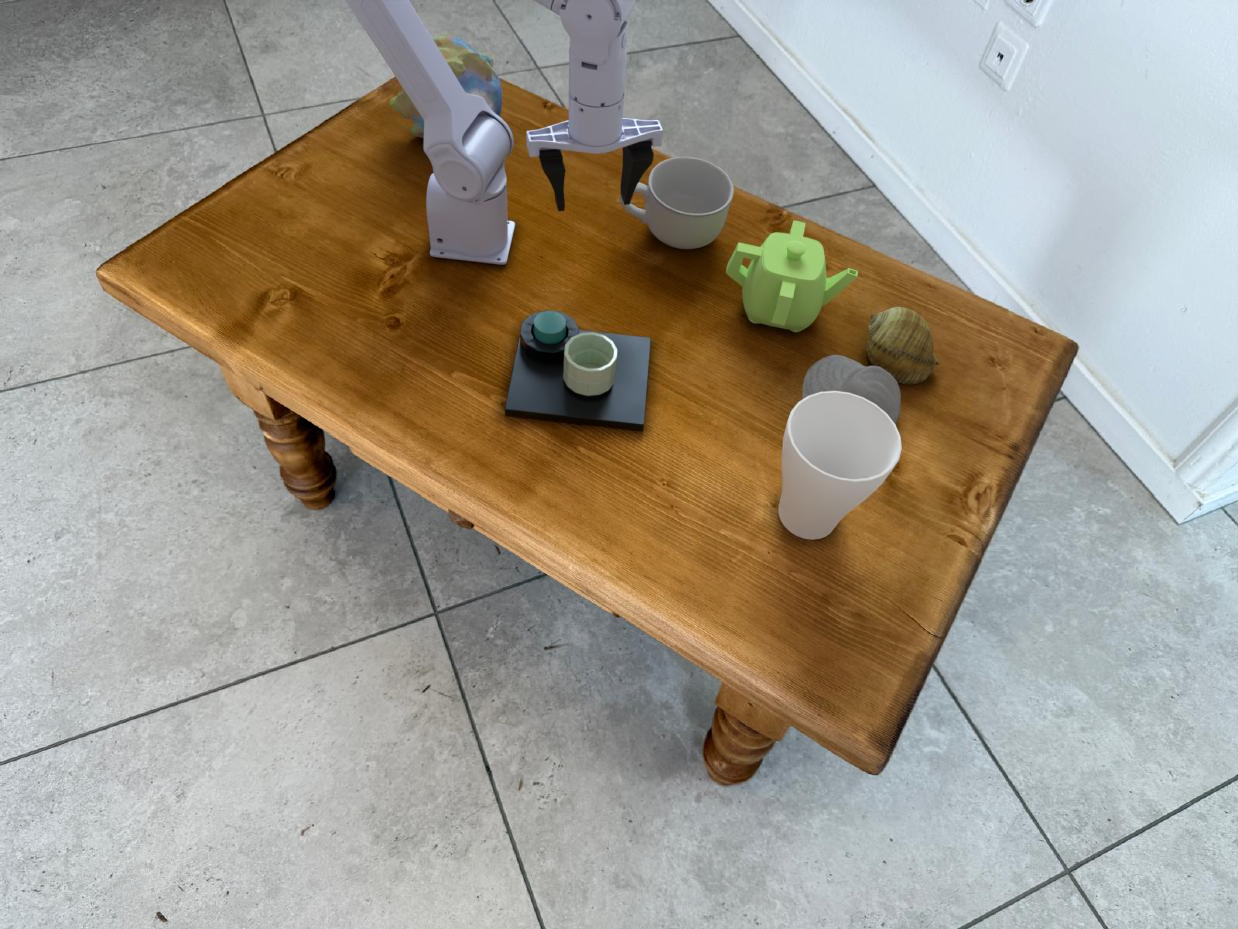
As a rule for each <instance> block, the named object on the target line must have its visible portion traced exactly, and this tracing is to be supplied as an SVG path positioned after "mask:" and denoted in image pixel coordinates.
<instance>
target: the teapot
mask: <svg viewBox="0 0 1238 929" xmlns="http://www.w3.org/2000/svg"><path fill="white" fill-rule="evenodd" d="M805 228H806V222H803V221H799V220H792V224H791V227H790V230H789V233H786V232H776V231H775V232H772V233H770V234H769V235H768V236H767V237H766V239H765V240H764V241H763V243H762V244H761V245H760V246H757V245H752V244H747V243H744V242H737V245H736V246H735V248H734V250H733V252H732V255H731V257H730V258H729V260H728V262H727V264H726V269H725V274H726V275H727V276H728V277H730V278H731V279H732V280H733V281H735V282H736V283H737V284H738V285H740V286H741V299H742V304H743V308H744V312H745V314H746V316H747V318H748V321H749V322H751V323H753V324H762V325H766V326H769V327H774V328H779V329H784V330H789V331H791V332H793V333H799V332H801V331H803V330H805V329H807V328H808V327H810V326H811V325H812V324H813V323H814V322H815V320H816V319H817V317H818V315H819V314H820V312H821V310H822V307H823V306H826V305H828V303H830V302H831V301H832V300H833V299H834V298H835V297H837V295H839V294H840V293H841V292H842V291H844V290H845V288H847V287H848V286H849V285H850V284H852V283H853V281H855V280H856V279H858V274H859V270H857V269H853V268H850V267H847V268H846V269H845V270H842V271H841V272H839V273H836V274H835V275H832V276H830V277H827V265H826V255H825V250H824V246H823V244H822V243H821V242H820V241H818V240H816V239H813V238H810V237H805V236H804V234H805ZM745 258H746V259H748V260H750V263H749V265H748V267H746V266H745V265H744V264H743V261H744V259H745Z"/></svg>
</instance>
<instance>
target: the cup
mask: <svg viewBox="0 0 1238 929" xmlns="http://www.w3.org/2000/svg"><path fill="white" fill-rule="evenodd" d="M782 437H783V438H782V446H781V447H782V449H781V494H780V499H779V503H778V517H779V520H780V522H781V523H782V525H783V527H784V528H785V529H786V530H787V531H789V533H790V534H793V535H794V536H796V537H798V538H801V539H804V540H812V541H813V540H820V539H823V538H825V537H827V536H829V535H830V534H831V533H832V532H833V531H834V530H835V528H836V527H837V526H838V524H839V523H840V522H841V520H843V519H844V518H845V517H846V516H847V515H849V513H850V512H852V511H853V510H854V509H855V508H856V507H858V506H859V505H860V504H862V503H864V502H865V501H866V500H867V499H868V498H869V497H870V496H871V495H873V494H874V493H875V491H876V490H878V489H879V488H880V487H881V486H882V485H883V483H884V482H885V481H886V479H887V478H888V476H890V474H891V472H892V471H893V470H894V468H895V467H896V465H898V462H899V461H900V457H901V454H902V449H903V447H902V437H901V434H900V432H899V430H898V427H897V424H896V425H895V423H894V422H893V421H892V420H891V418H890V417H889V416H888V414H887V413H886V412H884V411H883V410H882V409H881V408H880V407H878V406H877V405H876V404H874V403H872V402H871V401H869V400H867V399H865V398H863V397H861V396H857V395H854V394H851V393H847V392H840V391H826V392H819V393H816V394H813V395H809V396H807V397H806V398H804V399H801V400H799V401H798V402H797V403H796V404H795V405H794V407H793V408H792V409H791V410H790V412H789V416H788V419H787V422H786V425H785V429H784V433H783V436H782Z"/></svg>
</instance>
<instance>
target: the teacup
mask: <svg viewBox="0 0 1238 929" xmlns="http://www.w3.org/2000/svg"><path fill="white" fill-rule="evenodd" d="M647 183H648V184H647V185H646V184H645V183H642V182H640V181H639V182H638V184H637V186H636V188H635V191H634V193H633V194H641V196H642V197H643V200H644V203H645V207H644V208H645V209H643V208H640V207H637V206H635V205H634V204H632V203H631V202H630V204H629V205H624V202H623V200H622V197H621V193H620V195H619V200H620V205H621V206H622V208H623V210H624V211H625V212H627V213H628V214H630V215H631V216H633V217H634V218H636V219H639V221H640V223H642V224H644V225H647V227H648V229H649V230H650V232H651V234H653V236H654V237H655V238H656V239H658V240H659V241H660V242H662V243H663V244H665V245H667V246H669V247H671V248H674V249H678V250H692V249H693V250H694V249H699V248H700V249H701V248H702V247H706V246H708V245H709V244H711V243H713V241H715V240H716V239H717V238H718V237H719V236H720V234H721V232H722V231H723V228H724V227H725V224H726V220H727V217H728V213H729V210H730V206H731V203H732V201H733V198H734V193H735V188H734V184H733V182H732V179H731V178H730V176H729V175H728V174H727V172H726V171H724V170H723V169H722V167H719V166H718V165H716V164H714V163H712V162H711V161H708V160H705V159H703V158H697V157H694V156H674V157H671V158H667V159H664V160H662V161H660V162H659V163H657V164H656V165H655V166H654V167H653V168H652V169H651V171H650V173H649V175H648V182H647Z"/></svg>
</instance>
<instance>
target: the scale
mask: <svg viewBox="0 0 1238 929" xmlns="http://www.w3.org/2000/svg"><path fill="white" fill-rule="evenodd" d="M544 311H551V310H550V309H545V310H540V311H536V312H533V313H531V314H530V315H529V316H527V318H525V319H524V320H523V321H522V322H521V326H520V331H519V336H518V341H517V346H516V351H515V355H514V361H513V365H512V366H513V367H512V372H511V376H510V381H509V386H508V390H507V396H506V401H505V406H504V416H505V417H509V418H517V419H519V418H520V419H529V420H537V421H546V422H553V423H554V422H556V423H564V424H574V425H580V426H581V425H582V426H589V427H600V428H609V429H617V430H618V429H619V430H625V431H627V430H628V431H636V432H644V428H645V420H646V407H647V393H648V384H649V383H648V382H649V381H648V380H649V369H650V358H651V357H650V356H651V343H652V338H651V337H647V336H638V335H628V334H621V333H620V334H619V333H611V332H601V331H594V330H585V329H580V328H579V326H578V323H577V322H576V321H575V319H574V318H573V317H571V316H570V315H567V314H566V313H564V312H562V311H558V310H554V311H555V312H558V313H560V314H561V315H563V317H564V318H565V320H566V335H565V338H564V339H563V340H562V341H561V342H559V343H557V344H552V345H550V344H544V343H541V342H539V341H538V340H537V339H536V338H535V336H534V319H535V317H536V316H537V315H538V314H539V313H541V312H544ZM589 332H594V333H598V334H602V335H605V336H606V337H607V338H609V339H610V340H612V341H613V343H614V344H615V346H616V348H617V362H616V370H615V379H614V384H613V385H612V386H611V388H610V389H609V390H608V391H606V392H604V393H602V394H600V395H591V396H586V395H582V394H578V393H575V392H574V391H573V390H571V389H570V388H569V387H568V386H567V385H566V383H565V381H564V379H563V373H564V352H565V345H566V343H567V342H568V341H569V340H570V339H571V338H572V337H574V336H576V335H578V334H580V333H589Z"/></svg>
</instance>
